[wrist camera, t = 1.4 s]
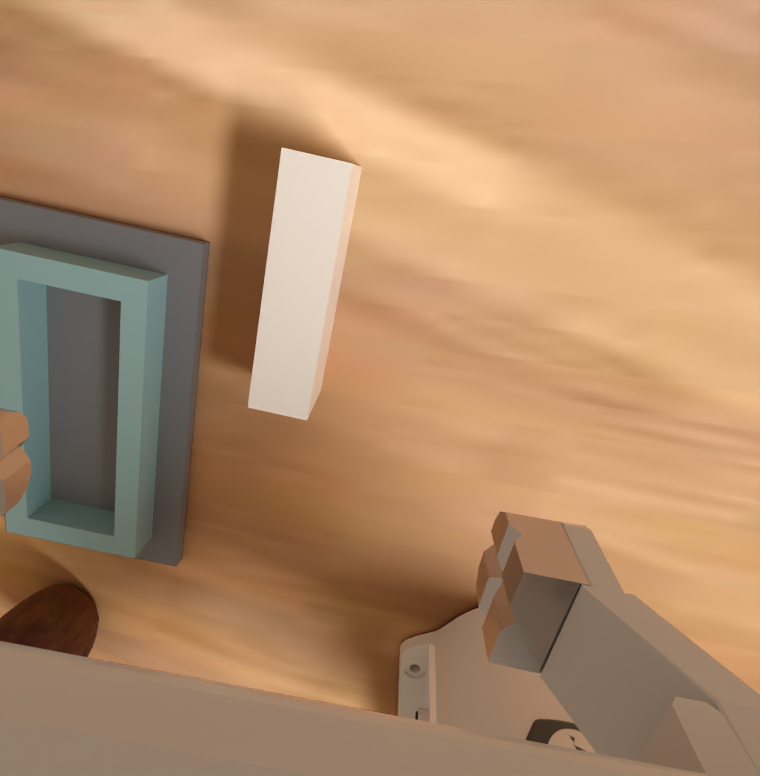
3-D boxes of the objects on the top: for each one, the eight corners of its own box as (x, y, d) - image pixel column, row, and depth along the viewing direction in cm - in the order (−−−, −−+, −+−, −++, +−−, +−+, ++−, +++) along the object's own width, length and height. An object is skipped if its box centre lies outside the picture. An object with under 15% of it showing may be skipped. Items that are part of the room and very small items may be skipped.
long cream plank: (321, 389, 35) (306, 420, 31) (269, 378, 35) (247, 407, 31) (362, 167, 30) (352, 163, 26) (302, 153, 30) (281, 147, 26)
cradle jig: (182, 557, 41) (161, 590, 37) (15, 522, 40) (-20, 551, 37) (209, 242, 32) (186, 248, 29) (-2, 195, 32) (-50, 196, 29)
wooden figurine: (125, 624, 43) (-13, 831, 29) (71, 644, 45) (-87, 852, 31) (76, 561, 41) (-98, 751, 27) (20, 584, 43) (-174, 777, 29)
